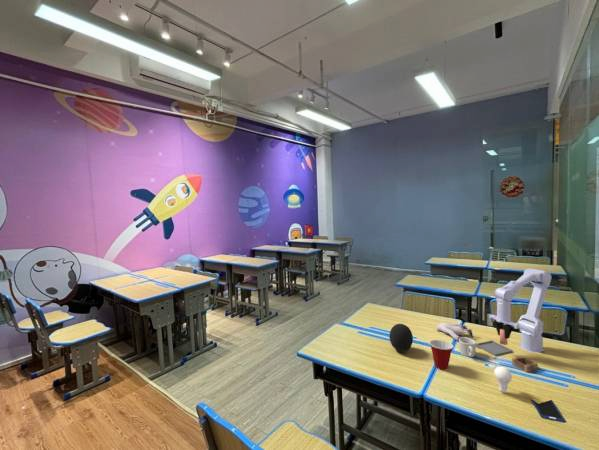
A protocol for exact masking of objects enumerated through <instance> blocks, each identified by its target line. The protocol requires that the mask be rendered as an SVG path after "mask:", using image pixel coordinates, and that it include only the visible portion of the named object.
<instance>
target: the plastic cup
mask: <svg viewBox="0 0 599 450" xmlns="http://www.w3.org/2000/svg"><path fill="white" fill-rule="evenodd" d="M428 344H429V346H430V349H431V352H432V353H431V354H432V357H433V358H432V359H433V362H434V363H433V364H434V367H435V368H436V369H438V370H441V371H446V370H448V368H449V364H450V359H451V354H452V350H453V348H454V345H453V344H452V343H451V342H449V341H446V340H443V339H431V340H429V343H428Z"/></svg>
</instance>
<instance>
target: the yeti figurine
mask: <svg viewBox="0 0 599 450" xmlns="http://www.w3.org/2000/svg"><path fill="white" fill-rule="evenodd" d="M435 328H436V331H439V332H443V333H444V334H447V335H450V336H451V337H452V338H453V339H455V340H456V341H457V342H458V343H459V338H462V336H461V335H462V334H465V333H467V334H468V338H471V339H473V336H474V335H473V330H472V329H470V328H469V329H468V327H467V325H461V324H459V323H454V322H453V323H449V322H441V323H439V324H438V325H437V326H436V327H435Z"/></svg>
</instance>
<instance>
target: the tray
mask: <svg viewBox="0 0 599 450" xmlns="http://www.w3.org/2000/svg"><path fill="white" fill-rule="evenodd" d="M476 348H478V349H479V350H483V351H485V352H487V353H489V354H491V355H492V356H495V357H497V356H498V357H499V356H501V355H506V354H510V353H513V352H514V351H513V349H511V348H509V347H506V345H503V344H500V343H498V342H497V341H494V340H488V341H482V342H478V343H477V342H476Z"/></svg>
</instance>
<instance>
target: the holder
mask: <svg viewBox="0 0 599 450" xmlns="http://www.w3.org/2000/svg"><path fill="white" fill-rule="evenodd" d="M511 366H513V367H516V368H518V369H520V370H521V371H523V372H525V373H530V372H534V371H538V369H539V368H538V367H539V364H538V363H537V362H536V361H533V360H531V359H530V358H527V357H525V356H517V357H514V358H511Z"/></svg>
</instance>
